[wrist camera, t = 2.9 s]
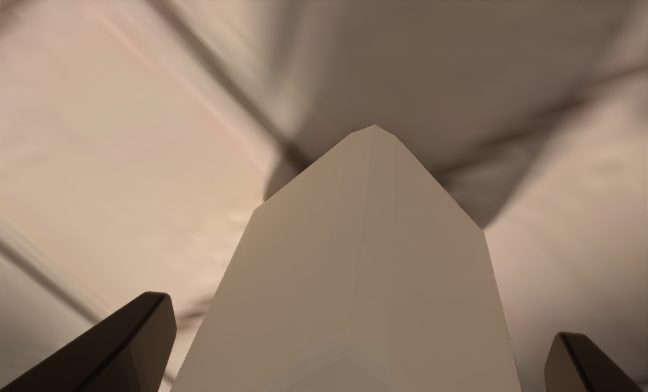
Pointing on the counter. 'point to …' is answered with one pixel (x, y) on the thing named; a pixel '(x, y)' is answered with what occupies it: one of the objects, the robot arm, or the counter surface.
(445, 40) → the counter surface
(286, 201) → the salt shaker
